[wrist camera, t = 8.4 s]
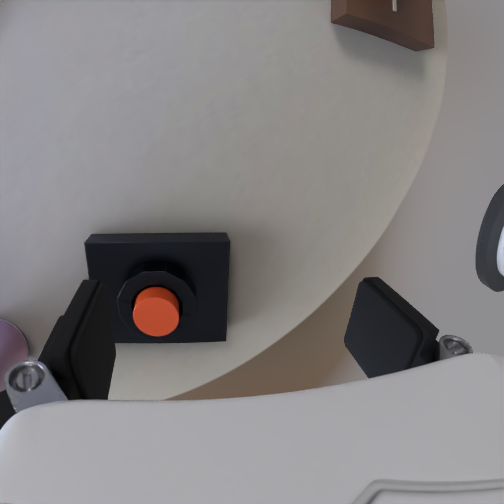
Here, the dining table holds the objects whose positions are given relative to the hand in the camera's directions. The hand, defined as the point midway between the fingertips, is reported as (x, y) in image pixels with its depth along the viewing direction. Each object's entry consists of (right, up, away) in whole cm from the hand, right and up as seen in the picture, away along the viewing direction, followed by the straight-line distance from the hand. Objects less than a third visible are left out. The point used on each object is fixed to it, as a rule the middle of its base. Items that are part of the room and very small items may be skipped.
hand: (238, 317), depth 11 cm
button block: (-8, -1, +17) cm, 19 cm away
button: (-7, -2, +14) cm, 15 cm away
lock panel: (+13, +29, +9) cm, 33 cm away
